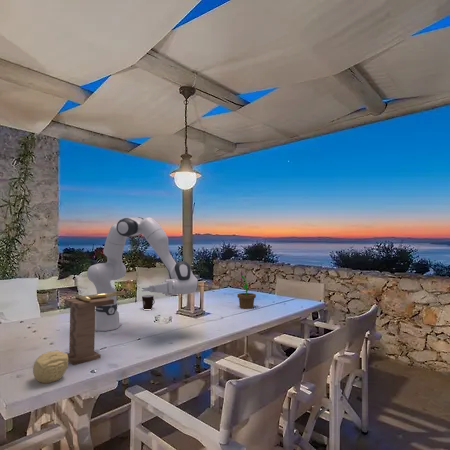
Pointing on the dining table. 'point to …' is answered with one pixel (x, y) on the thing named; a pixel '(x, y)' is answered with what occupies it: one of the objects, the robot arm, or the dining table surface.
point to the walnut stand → (83, 329)
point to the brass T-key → (98, 295)
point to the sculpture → (50, 366)
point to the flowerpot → (246, 297)
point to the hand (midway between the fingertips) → (142, 289)
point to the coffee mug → (147, 301)
